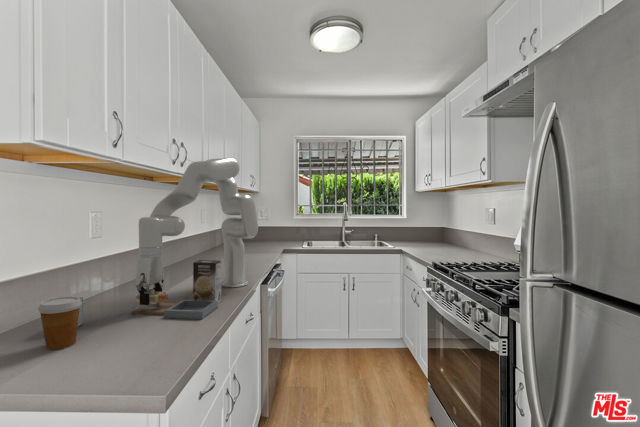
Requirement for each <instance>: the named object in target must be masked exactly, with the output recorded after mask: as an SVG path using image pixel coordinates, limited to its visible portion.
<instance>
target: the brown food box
mask: <svg viewBox="0 0 640 427" xmlns="http://www.w3.org/2000/svg"><path fill="white" fill-rule="evenodd" d="M192 266H193V267H192V268H193V270H192V273H193V274H192V275H193V278H192V283H193V284H192V286H193V287H192V300H208V301H218V304H219V303H220V302H221V301H222V286H221V282H222V260H214V259H213V260H212V259H199V260H196V261H194V262H193V265H192Z"/></svg>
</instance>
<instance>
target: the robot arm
mask: <svg viewBox="0 0 640 427" xmlns="http://www.w3.org/2000/svg"><path fill="white" fill-rule="evenodd" d="M239 173H240V164H239V162H238V161H237V160H236V159H235V158H232V157H224V158H211V159H207V160H202V161H200V160H198V161H193V162H191V163H189V165H188V166H187V168H186V170H185V171H184V172H183V174H182V177H181V178H180V179H179V181H178V183H177V185H176V187H175V188H174V190H173V191H171V192H170V193H169V194H167V196H165V197H164V198H163V199H161V200H160V201H159V202H158V203H157V204H156V206H155V207H154V209H153V210H152V212H151V214H150V215H149V216H146V217H145V216H144V217H141V218H139V220H138V257H137V258H138V259H137V263H136V270H135V271H136V272H135V273H136V275H135V277H136V278H135V287H136V290H137V291H138V295H140V303H139V305H140V306H143V305H149V293H148V291H149V289H150V287H151V286H152V285H153V287H152V289H154V291H159V292H163V287H164V280H165V277H166V274H165V273H164V260H163V259H164V258H163V237H177V236H180V235H181V234H182V233H183V232H184V231H185V226H186V224H185V221H184V220H183V219H182V218H181V217H179V216H176V215H172V214H173V213H175V212H176V211H177V210H179V209H181V208H183V207H186V206H188V205H190V204H191V203H194V202H195V201H196V199H197V197H198V196H199V194H200V192H201V190H202V188H203V186H204V184H205V183H211V182H212V183H213V182H214V183H215V184H216V187H217V189H218V194H219V201H220V208H221V210H222V213H224V214H225V215H227V216H230V217H228V218H226V219H224V220H223V221H222V223H221V228H220V229H221V233H222V240H223V281H222V280H221V287H223V288H239V287H240V288H241V287H245V286H248V285H249V281H248V280H246V273H245V272H246V271H245V270H246V268H245V264H246V262H245V261H246V258H245V257H246V256H245V255H246V254H245V253H246V250H245V244H244V242H243V239H253V238H255V237H256V236H257V234H258V231H259V222H258V215H257V208H256V202H255V200H254V198H252V196H250V195H249V194H240V193H239V188H238V184H237V181H236V179H235V177H237V176H238V175H239ZM231 216H232V217H231ZM233 216H235V217H233ZM238 216H240V217H238Z"/></svg>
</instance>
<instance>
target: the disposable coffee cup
mask: <svg viewBox="0 0 640 427" xmlns="http://www.w3.org/2000/svg"><path fill="white" fill-rule="evenodd" d="M79 297H80V296H79ZM79 297H78V296H61V297H53V298H49V299H46V300H43V301H41V302H40V303H39V307H37V311H38V312H39V314H40V318H41V324H42V331H43V335H44V336H43V337H44V341H45V342H44V343H45V347H46V349H47V350H51V351H52V350H55V351H56V350H61V349H66V348H68V347H71V346H73V345H75V344H76V341H77V331H78V327H79V326H78V318H79V310H80V306H81V304H82V302H81V301H80V298H79ZM77 326H78V327H77Z"/></svg>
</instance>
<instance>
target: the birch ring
mask: <svg viewBox="0 0 640 427" xmlns="http://www.w3.org/2000/svg"><path fill="white" fill-rule="evenodd" d="M160 301H163V302H164V301H169V295H168V293H167V291H162V292H159V291H154V295H149V304H156V303H158V302H160ZM135 303H136V304H140V294H138V295H136V296H135Z"/></svg>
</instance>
